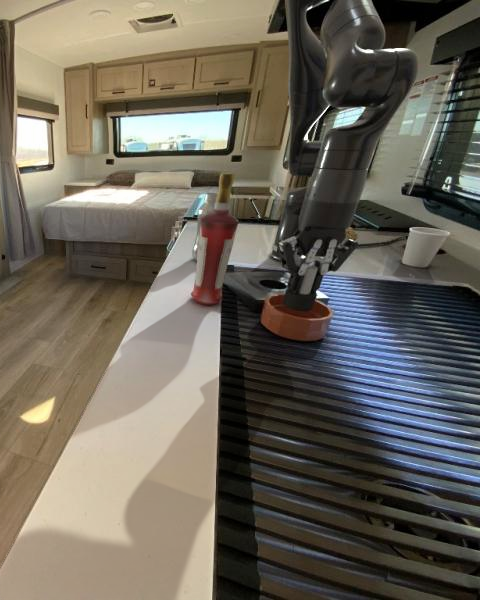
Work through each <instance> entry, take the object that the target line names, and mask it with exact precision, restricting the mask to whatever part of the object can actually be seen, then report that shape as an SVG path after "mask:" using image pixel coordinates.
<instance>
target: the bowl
mask: <svg viewBox="0 0 480 600" xmlns="http://www.w3.org/2000/svg"><path fill="white" fill-rule="evenodd" d="M284 296H285V294H273V295H270V296H268V297H267V298H266V299H265V302H264V306H263V310H262V312H261V313H260V317H259V319H260V323H261V324H262V326H264V327H265V328H266V329H267V330H269V331H270V332H271V333H272V334H275V335H276V336H278V337H281V338H285V339H288V340H293V341H298V342H312V341H315V342H316V341H318V340H321V339H324V338H325V337H326V335H327V333H328V331H329V328H330V325H331V322H332V320H333V316H334V314H335V313H334V311H333V309H332V308H331V307H330V306H329V305H328V304H327V305H325V304H324V303H322V302H320V301H317V300H315V303H314V306H313V309H312V310H311V311H307V312H302V311H296V310H292V309H290V308H287V307H286V306H284V305H283V299H284Z"/></svg>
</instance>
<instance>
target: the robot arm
mask: <svg viewBox="0 0 480 600" xmlns="http://www.w3.org/2000/svg"><path fill="white" fill-rule="evenodd" d="M329 1H330V0H284V5H285V6H284V7H285V17H286V28H287V40H288V42H287V43H288V103H289V125H290V128H289V129H290V131H289V132H290V133H289V146H288V162H287V168H288V172H289V174H290V175H291V176H294V177H301V178H309V181H308V184H307V185H305V186H303V187H299V188H294V189H290V190H289V191H288V192H287V193H286V196H285V200H284V203H283V208H282V212H281V216H280V219H279V224H278V227H277V231H276V234H275V239H274V243H272V244H271V245H272V246H271V250H272V251H271V254H270V257H271V259H273V260H275V261H279V262H280V265H281V267H282V268H283V269H285V270H286V271H287V272H289V273H290V278H289V281H288V284H287V286H288V288H289V290H290V291H291V292H293V293H299V292H300V289H301V285H302V282H303V279H304V275H303V274H304V273H305V271H306V269H307V267H308V265H313V266H316V267H318V270H317V273H316V276H315V279H314V282H313V285H312V288H311V291H310V293H316V291H319V289H320V288H321V284H322V282H323V279H324V277H325V276H326V274H328V273H329V272H334V273H335V272H337V271H338V270H339V269H340V268H341V266H343V265H344V264H345V262H346V261H347V259H348V258H349V257H350V256H351V255H352V254H353V253H354V251H355V250H356V249H357V248H361V247H372V246H379V245H386V244H390V243H394V242H396V241H398V240H401V239H402V238H404V237H405V238H406V239H408V237H409V234H408V236H403V237H399V236H398V237H399V238H396V237H395V238H396V239H394V240H391V239H390V240H391V241H387V240H383V241H384V242H383V241H377V242H367V243H359V242H358V241H356V240H355V241H353V240H350V239H348V238H346V229H347V228H349V227H351V226H352V223H353V220H354V218H355V216H356V215H355V214H356V211H357V209H358V206H359V203H360V200H361V197H362V194H363V192H364V189H365V185H366V181H367V176H368V172H369V169H370V165H371V163H372V160H373V156H374V154H375V152H376V148H377V146H378V143H379V141H380V139H381V137H382V135H383V134H384V132H385V131H386V129H387V127H388V126H389V125H390V123H391V121H392V120H393V118H394V116H395V115H396V113H397V112H398V110H399V109H400V107H401V106H402V104H403V103H404V102H405V100H406V99H407V97H408V95H409V94H410V92H411V91H412V89H413V87H414V85H415V83H416V82H417V79H418V76H419V73H420V65H421V64H420V58H419V55H418V54H417V52H416V51H415V50H413V49H411V48H406V47H405V48H384V49H383V47H384V45H385V42H386V29H385V26H384V24H383V22H382V20H381V18H380V16H379V13H378V12H377V9H376V8H375V6H374V3H373V1H372V0H334V1H333V2H332V4H331V5H330V7H329V9H328V10H327V12H326V14H325V16H324V18H323V20H322V23H321V26H320V33H319V38H318V37H317V36H316V35H315V33H314V32H313V30H312V29H311V27H310V26H309V25H310V24H308V21H307V12H308V11H309V10H311V9H313V8H315V7H318V6H320V5H323V4H324V3H327V2H329ZM330 106H331V107H333V108H335V109H356V108H357V109H361V108H362V109H363V111H362V112H361V113H360V115H359V117H358V118H357V119H356V120H355V121H354V122H352V123H349V124H346V125H342V126H335V127H332V128H331V129H329V130H327V132H325V134H324V136H323V138H322V140H309V139H308V134H309V132H310V131H311V129H312V127H313V126H314V125H315V123H317V121H318V120H319V119H320V118H321V117H322V116H323V114H324V113H325V112H326V111H327V109H328V108H329V107H330ZM385 241H387V242H385ZM380 242H381V243H380Z"/></svg>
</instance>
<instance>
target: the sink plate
mask: <svg viewBox="0 0 480 600" xmlns="http://www.w3.org/2000/svg"><path fill="white" fill-rule="evenodd" d="M290 274H291V272H289V271H287V270H286V271H283V270H282V271H242V272H226V273H225V277H224V282H223V285H225V286H226V287H227V288H228V289H229V290H230V291H231V292H232V293H233V294H234V295H235V296H236V297H237V298H238V299H240V300H241V301H242V302H243V303H244V304H245V305H246V306H247V307H248V308H249V310H251V311H252V312H254V313H256V312H257V313H260V312H261V313H262V310H263V306H264V302H265V299H266V298H267V297H268V296H270V295H273V294H285V292H286V289H287V288H288V286H287V284H288V281H289V278H290ZM316 293H317V297H316V300H317V301H320V302H322V303H324V304H325V305H327V306H328V304H329V301H330V297H329V296H328V295H326V294H324V293H323V292H321V291H319V290H317V291H316Z"/></svg>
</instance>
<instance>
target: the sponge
mask: <svg viewBox="0 0 480 600" xmlns="http://www.w3.org/2000/svg"><path fill="white" fill-rule="evenodd" d="M358 236H359V234H358V233H357V231H356V230H354V228H353V227H351V226H350V227H349V228H347V229H346V238H348V239H350V240H353V241H355V242H356V241H357V239H358Z"/></svg>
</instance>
